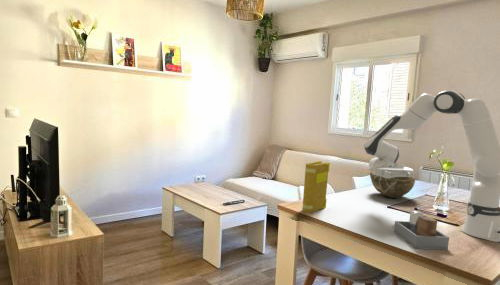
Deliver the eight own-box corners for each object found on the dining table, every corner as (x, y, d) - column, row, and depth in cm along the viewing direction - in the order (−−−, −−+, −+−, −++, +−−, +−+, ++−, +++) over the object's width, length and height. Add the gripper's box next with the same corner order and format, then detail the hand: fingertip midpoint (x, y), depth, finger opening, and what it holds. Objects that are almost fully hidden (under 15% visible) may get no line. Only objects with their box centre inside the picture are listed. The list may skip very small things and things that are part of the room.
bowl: (358, 192, 221) (360, 170, 219) (387, 189, 232) (389, 169, 231) (391, 203, 196) (394, 179, 194) (422, 200, 208) (425, 177, 206)
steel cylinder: (416, 232, 148) (419, 210, 147) (422, 236, 143) (425, 214, 142) (405, 231, 147) (408, 210, 146) (411, 236, 142) (414, 213, 141)
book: (314, 204, 185) (318, 160, 183) (325, 207, 181) (329, 162, 178) (299, 210, 172) (303, 163, 170) (310, 213, 168) (314, 165, 165)
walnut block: (427, 239, 140) (429, 216, 139) (434, 244, 135) (437, 220, 134) (415, 238, 139) (418, 216, 138) (422, 243, 134) (425, 220, 133)
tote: (422, 232, 150) (423, 222, 150) (447, 249, 133) (449, 237, 132) (393, 231, 149) (395, 221, 149) (415, 248, 132) (416, 236, 131)
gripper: (368, 162, 172) (380, 167, 159) (406, 164, 173) (421, 169, 160) (367, 174, 173) (378, 180, 159) (404, 176, 174) (419, 182, 160)
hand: (400, 175), depth 159 cm, fingers open, 8 cm apart
